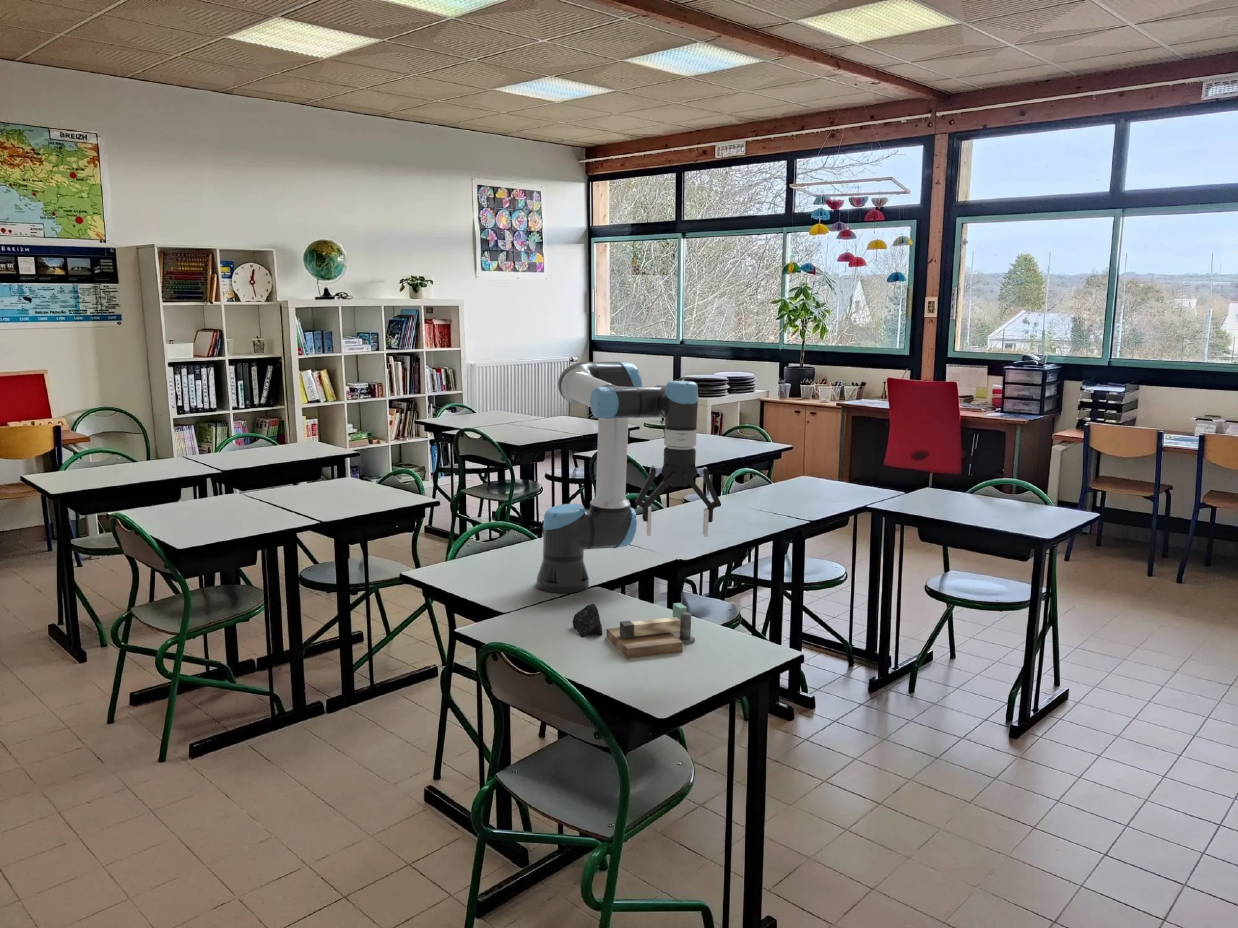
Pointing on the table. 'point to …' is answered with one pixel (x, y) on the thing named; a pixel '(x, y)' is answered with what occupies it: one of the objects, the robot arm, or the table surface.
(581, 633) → the rock
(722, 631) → the table surface
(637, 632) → the leg
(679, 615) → the pale green block
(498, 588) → the table surface
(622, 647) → the seat
